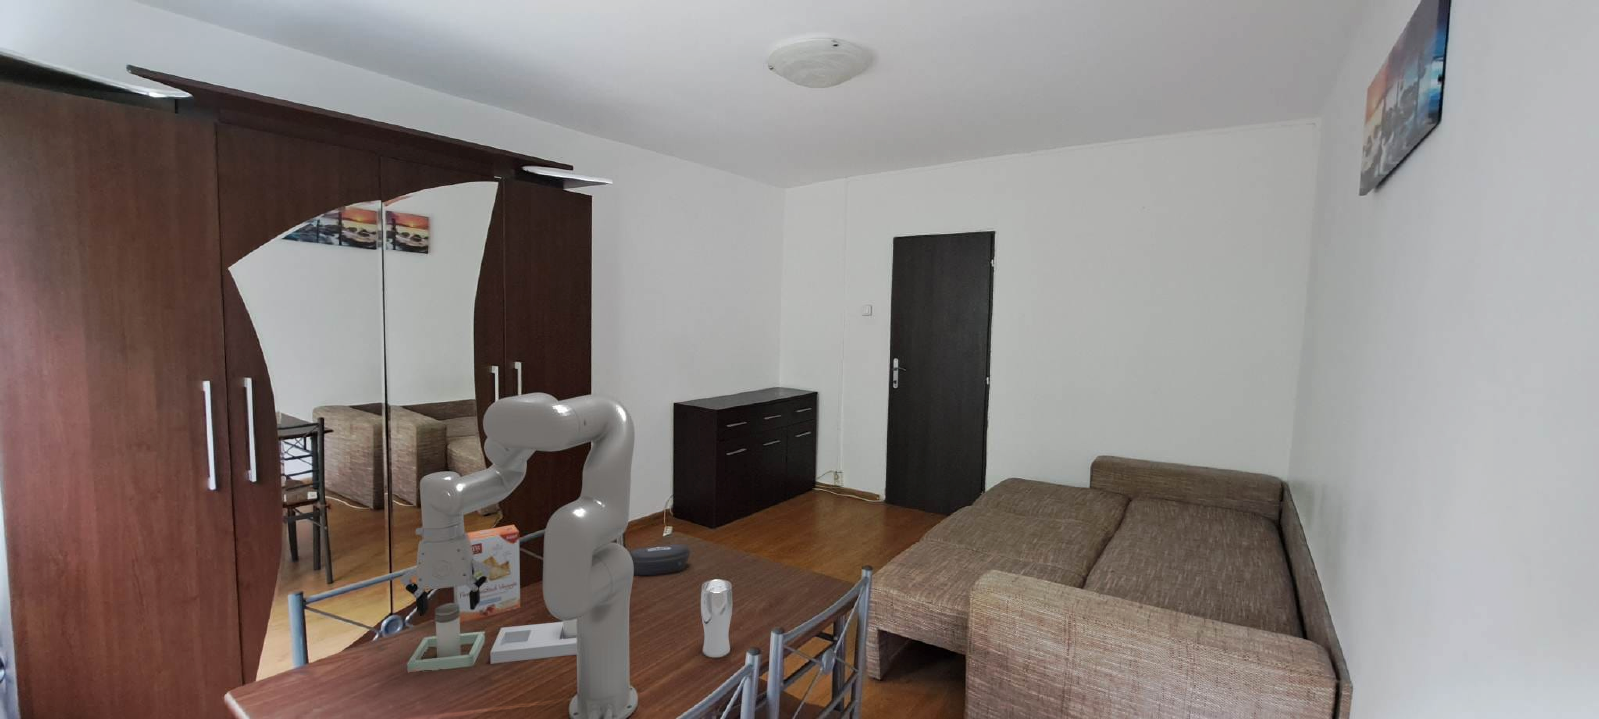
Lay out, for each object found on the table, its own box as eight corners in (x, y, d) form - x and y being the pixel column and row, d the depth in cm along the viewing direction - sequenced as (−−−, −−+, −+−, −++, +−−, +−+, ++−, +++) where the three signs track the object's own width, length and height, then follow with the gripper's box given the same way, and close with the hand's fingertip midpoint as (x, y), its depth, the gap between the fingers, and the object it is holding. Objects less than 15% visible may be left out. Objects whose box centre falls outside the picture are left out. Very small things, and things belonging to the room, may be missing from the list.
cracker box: (457, 628, 146) (454, 542, 144) (454, 617, 151) (451, 534, 149) (521, 611, 155) (519, 530, 153) (516, 602, 160) (514, 522, 158)
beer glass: (702, 661, 135) (702, 594, 134) (699, 643, 142) (699, 580, 140) (734, 656, 137) (734, 591, 135) (729, 639, 144) (729, 577, 142)
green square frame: (473, 670, 130) (472, 656, 130) (407, 677, 127) (407, 663, 127) (485, 643, 140) (485, 631, 140) (425, 650, 137) (424, 637, 137)
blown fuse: (457, 661, 132) (455, 612, 131) (433, 664, 131) (431, 614, 130) (463, 650, 137) (462, 602, 135) (440, 652, 135) (438, 603, 134)
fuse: (583, 646, 138) (582, 598, 137) (561, 648, 137) (560, 600, 136) (585, 635, 142) (584, 589, 141) (564, 637, 141) (563, 591, 140)
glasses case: (628, 579, 171) (626, 550, 173) (626, 577, 181) (625, 550, 183) (693, 571, 177) (691, 542, 179) (688, 569, 187) (686, 542, 189)
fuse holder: (590, 656, 136) (590, 641, 136) (490, 668, 131) (490, 652, 131) (594, 632, 146) (594, 618, 145) (501, 642, 141) (501, 627, 141)
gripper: (390, 542, 125) (396, 624, 127) (484, 533, 129) (489, 612, 131) (404, 529, 133) (410, 607, 134) (493, 521, 137) (497, 597, 138)
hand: (449, 609), depth 132 cm, fingers open, 9 cm apart
